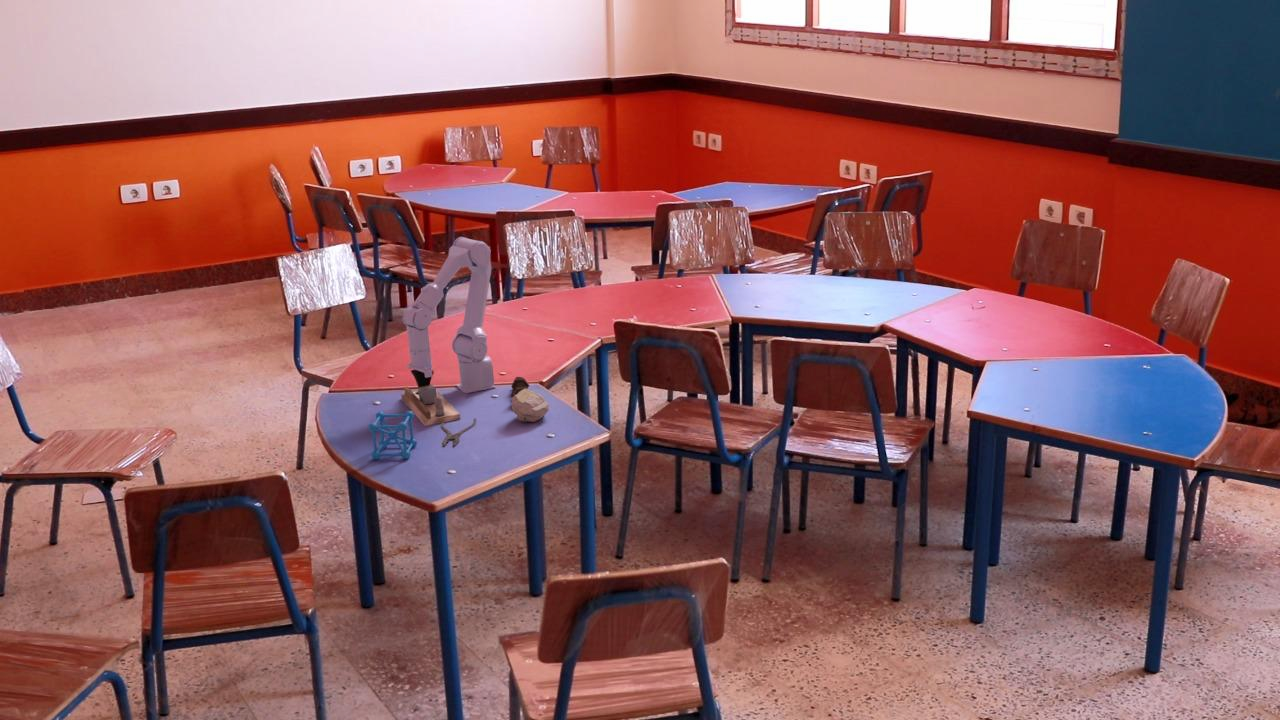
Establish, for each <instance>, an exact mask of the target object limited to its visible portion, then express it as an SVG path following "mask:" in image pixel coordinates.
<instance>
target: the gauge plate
mask: <svg viewBox="0 0 1280 720" xmlns="http://www.w3.org/2000/svg"><path fill="white" fill-rule="evenodd" d="M436 394H437V397H435V398H434V400H435V403H430V404H425V405H424V404H423V403H422V402H421V401H420V400H419V390H416V391H412V390H411V388H409V387H408V386H405V387H404V393H401V394H400V396H401V397H400V398H401V400H402V401H403V402H404V403H405V405H406V406H407V407H408V408H409V409H410V411H412V412H413V413H414V416H416V417H417V418H418V420H419V419H420V420H419V421H420V422H421V423H422V424H423V426H425V427H427V426H431V425H438V424H440V423H441V424H442V422H443V421H444V422H445V423H447V422H452V421H456V420H460V419H461V414H460V412H459V411H458V410H457V409H456V408H455V407H454V406H453V405H452V404H451V403H450V401H448V400H447V399H446V397H444V395H443V394H441V392H439V390H438V389H436Z"/></svg>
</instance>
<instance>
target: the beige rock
mask: <svg viewBox="0 0 1280 720" xmlns="http://www.w3.org/2000/svg"><path fill="white" fill-rule="evenodd" d="M549 406H550V404H549V402H547V400H545V398H544V396H543V395H542V394H540V393H537V392H536V391H533V390H531V389H530V388H528V389H523V390H521V391H520V392H519V393H518V394H517V395H514V396H513V397H512V396H511V410H512V411H513V412H512V413H514V414H515V415H516V417H517V419H518V421H520V422H525V423H526V422H527V423H528V422H531V423H534V422H537V421H539V420H540V419H542V418H543V417H544V416H545V415H546V414H547V413H548V412H549V410H550V407H549Z"/></svg>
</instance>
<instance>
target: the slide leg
mask: <svg viewBox="0 0 1280 720" xmlns="http://www.w3.org/2000/svg"><path fill="white" fill-rule="evenodd" d="M417 389H418V390H417V391H419V400H420V401H421V402H422V403H423V404H424V405H425V404H430V403H435V400H434V398H435V397H437V394H436V387H435V385H433V384H430V385H427V386H422V387H418V386H417Z"/></svg>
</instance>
